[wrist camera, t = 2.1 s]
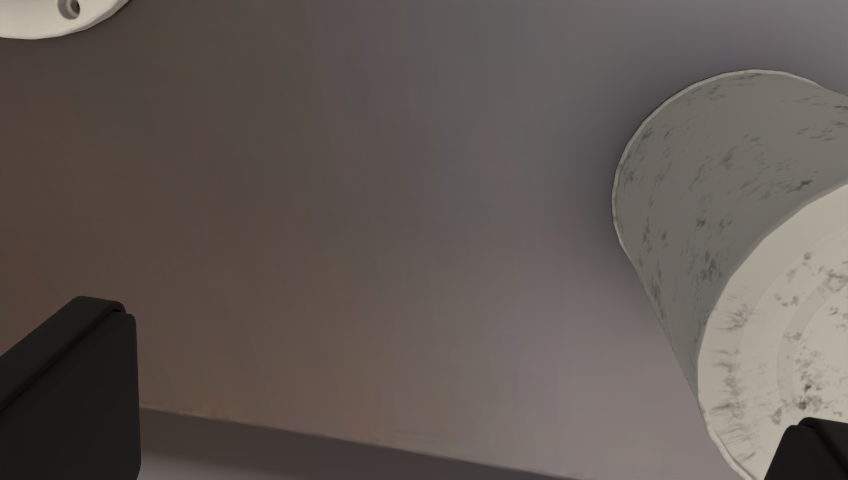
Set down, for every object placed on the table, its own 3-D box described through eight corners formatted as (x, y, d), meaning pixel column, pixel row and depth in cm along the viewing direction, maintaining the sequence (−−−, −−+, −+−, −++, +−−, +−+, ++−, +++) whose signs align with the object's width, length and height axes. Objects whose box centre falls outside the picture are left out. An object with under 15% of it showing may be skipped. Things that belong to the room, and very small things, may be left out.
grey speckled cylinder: (809, 322, 28) (1025, 564, 16) (583, 277, 28) (642, 483, 17) (912, 96, 24) (1283, 205, 13) (652, 46, 24) (788, 108, 13)
